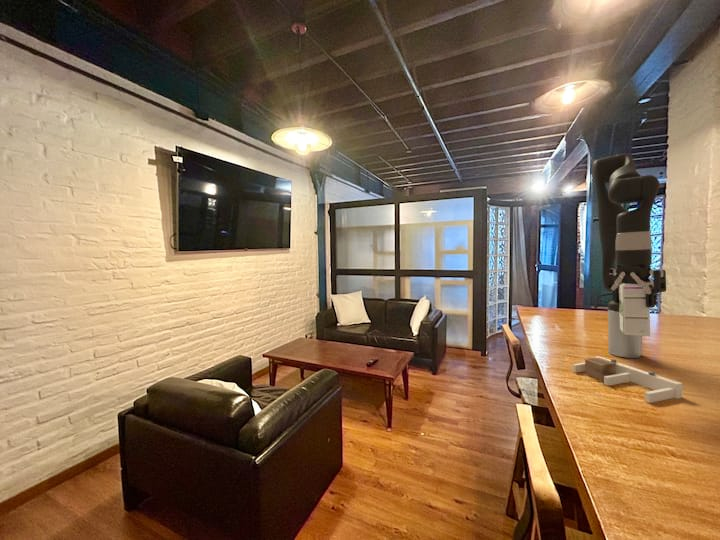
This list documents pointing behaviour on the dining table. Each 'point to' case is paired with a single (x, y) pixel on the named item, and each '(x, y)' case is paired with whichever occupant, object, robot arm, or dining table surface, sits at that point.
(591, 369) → the walnut block
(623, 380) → the notch rail
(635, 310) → the syrup box
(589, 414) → the dining table surface
